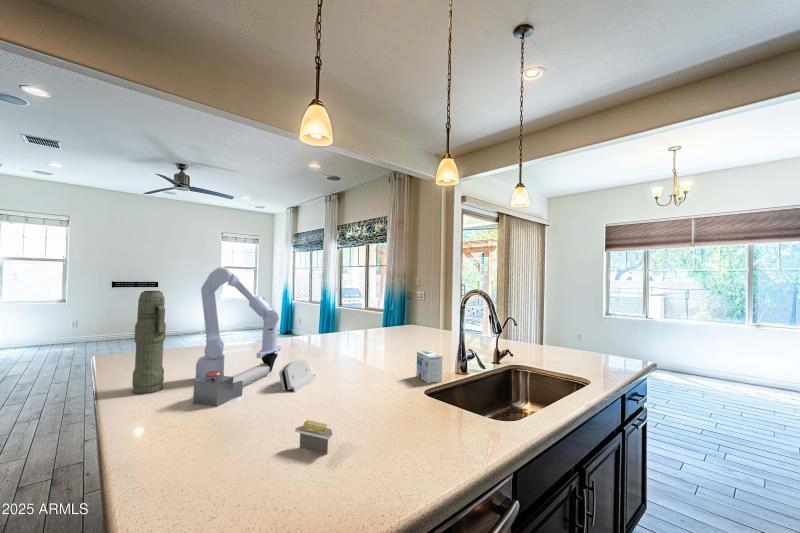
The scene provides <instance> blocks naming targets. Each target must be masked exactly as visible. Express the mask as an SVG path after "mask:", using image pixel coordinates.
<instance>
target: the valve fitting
mask: <svg viewBox="0 0 800 533" xmlns="http://www.w3.org/2000/svg"><path fill="white" fill-rule="evenodd" d="M220 375H221V371H210V372H207V373H205V376H206V377H203V378H200V379H198V380H196V379H194V380H195V381H194V380H193V394H192V396H193V397H192V404H193V405H199V406H200V405H201V406H207V407H208V406H209V407H216V408H217V407H220V406H221V405H223V404H226V403H227V402H229V401H231V400H233V399H236V398H239V397H243V389H244V387H243V381H238V382H234V383H233V377H232V376H227V375H224V376H220Z"/></svg>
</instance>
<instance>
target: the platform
mask: <svg viewBox="0 0 800 533" xmlns="http://www.w3.org/2000/svg"><path fill="white" fill-rule="evenodd" d="M332 431H333V430H332V428H328V424H327V423H323V422H319V421H314V420H310V419H307V420H306V421H304V422H303V425H300V426H298V427H296V428H295V430H294V432H295V433H298V434H299V448H301V449H305V450H309V451H312V452H315V453H320V454H324V455H328V454H329V452H328V450H329V449H328V448H329V443H328V442H329V440H330V439H331V438H333V432H332Z"/></svg>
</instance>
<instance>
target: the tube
mask: <svg viewBox="0 0 800 533" xmlns="http://www.w3.org/2000/svg"><path fill="white" fill-rule="evenodd" d="M270 373H271V372H270V367H269V366H268V365H267V364H264V363H263V362H262V363H259V364H258V365H256V366H254V367H252V368H249V369H246V370H244V371H242V372H240V373H237V374H235V375H233V376H231V377H233V383H234V382H238V381H243V388H244V387H246V386H248V385H251V384H252V383H254V382H257V381H258V380H260V379H262V378H264V377H265V378H266V377H267V376H268V375H269V374H270Z"/></svg>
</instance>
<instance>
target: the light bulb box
mask: <svg viewBox="0 0 800 533" xmlns="http://www.w3.org/2000/svg"><path fill="white" fill-rule="evenodd" d="M415 373H416V374H415V376H416V377H417V376H418V377H417V378H418V379H420V378H421V379H420V380H422V379H423V380H424V381H423V380H422V381H423V382H425V381H426V382H427V383H426V382H425V383H426V384H432V383H431V382H437V383H442V382H443V355H442V354H439V353H438V352H434V351H433V350H417V352H416V372H415Z"/></svg>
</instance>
